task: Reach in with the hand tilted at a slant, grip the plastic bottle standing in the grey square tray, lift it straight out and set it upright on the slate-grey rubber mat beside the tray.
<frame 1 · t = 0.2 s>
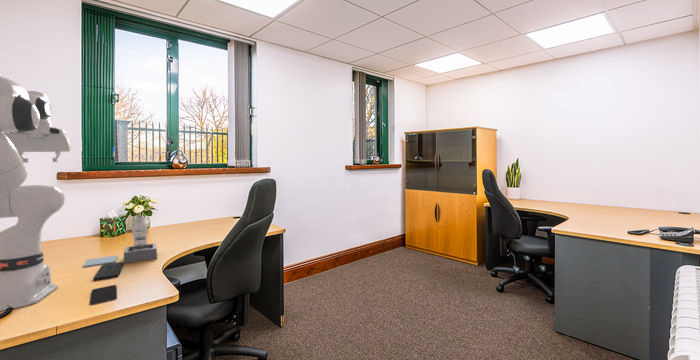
hand: (40, 162, 135), 48 cm above the table, tool pointing down, fingers open, 8 cm apart
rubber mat: (101, 261, 149), on the table
smartphone: (104, 297, 109), on the table
plastic bottle: (141, 258, 154), resting in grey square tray
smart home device: (109, 273, 134), on the table
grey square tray: (141, 257, 154), on the table
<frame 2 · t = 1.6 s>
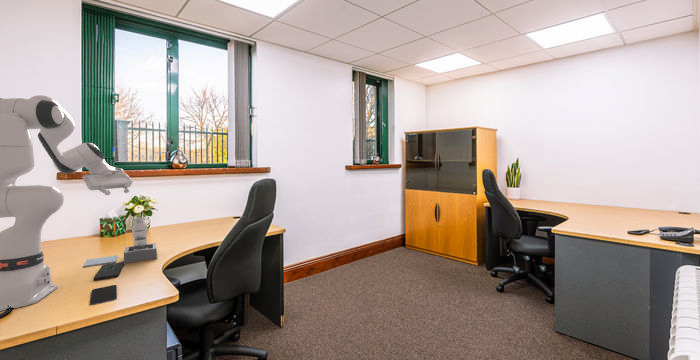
hand: (118, 193, 156), 32 cm above the table, tool tilted 45°, fingers open, 8 cm apart
nothing on the table moved.
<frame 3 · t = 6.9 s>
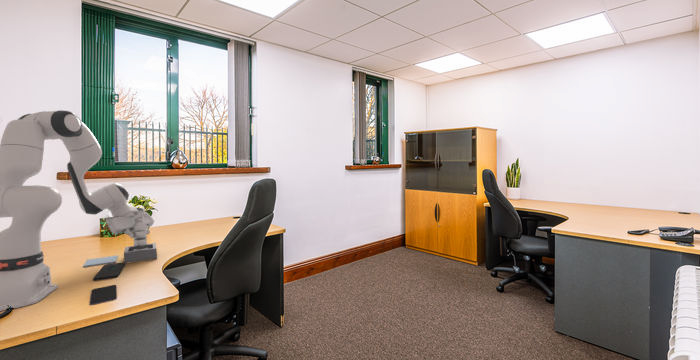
hand: (141, 235, 153), 11 cm above the table, tool tilted 45°, fingers closed on plastic bottle, 6 cm apart
plastic bottle: (141, 258, 154), resting in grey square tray, touching gripper
everything else where it was.
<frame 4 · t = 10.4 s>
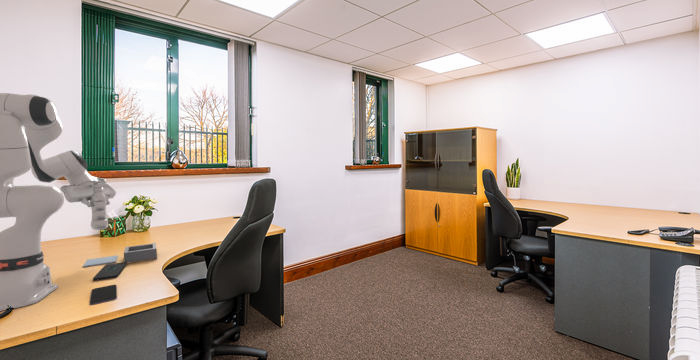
hand: (99, 205, 147), 27 cm above the table, tool tilted 45°, fingers closed on plastic bottle, 6 cm apart
plastic bottle: (100, 230, 148), point 15 cm above the table, touching gripper
everything else where it was.
when the fingers open (13 cm above the table, at t = 14.1 s): plastic bottle moves 1 cm, resting on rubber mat.
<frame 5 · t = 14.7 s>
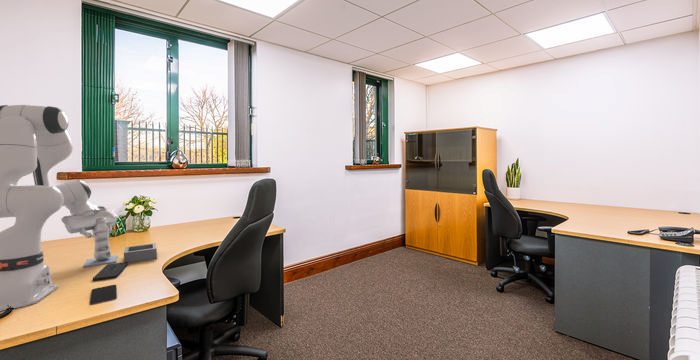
hand: (100, 234, 148), 13 cm above the table, tool tilted 45°, fingers open, 8 cm apart
plastic bottle: (102, 260, 150), resting on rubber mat, touching gripper
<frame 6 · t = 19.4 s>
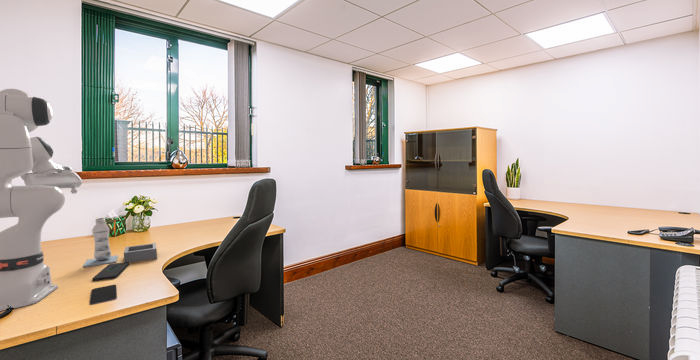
hand: (63, 193, 143), 33 cm above the table, tool tilted 45°, fingers open, 8 cm apart
plastic bottle: (102, 260, 150), resting on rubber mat
at the end: plastic bottle inside the target area on the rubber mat (0.9 cm from its centre), point 0.4 cm above the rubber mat's base; plastic bottle tilted 0°; the gripper is holding nothing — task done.
